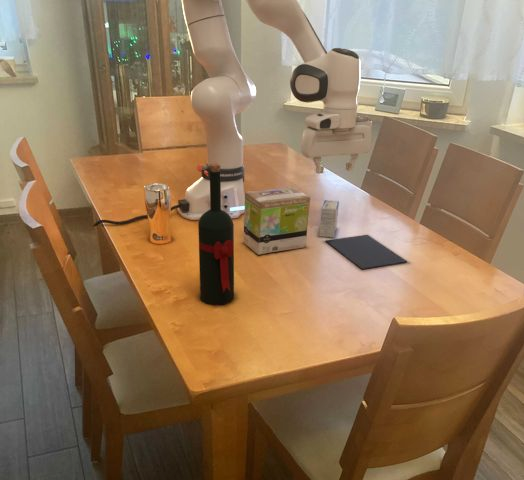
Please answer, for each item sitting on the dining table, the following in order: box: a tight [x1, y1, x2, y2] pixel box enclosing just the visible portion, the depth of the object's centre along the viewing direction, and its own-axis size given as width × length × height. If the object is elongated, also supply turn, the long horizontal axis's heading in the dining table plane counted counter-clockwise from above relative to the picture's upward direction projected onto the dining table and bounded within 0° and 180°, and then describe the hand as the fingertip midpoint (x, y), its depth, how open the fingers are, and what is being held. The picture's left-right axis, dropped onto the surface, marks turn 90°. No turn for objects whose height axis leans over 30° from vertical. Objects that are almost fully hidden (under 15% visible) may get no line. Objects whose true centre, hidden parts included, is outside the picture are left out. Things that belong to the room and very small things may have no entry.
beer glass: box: [143, 182, 173, 245], centre depth 149 cm, size 7×7×15 cm
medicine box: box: [318, 199, 340, 239], centre depth 160 cm, size 8×4×9 cm, turn 168°
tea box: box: [242, 186, 311, 256], centre depth 148 cm, size 15×10×15 cm
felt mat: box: [325, 234, 408, 271], centre depth 151 cm, size 14×20×1 cm
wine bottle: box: [197, 164, 235, 306], centre depth 117 cm, size 8×10×30 cm
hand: (334, 171), depth 152 cm, fingers open, 8 cm apart
